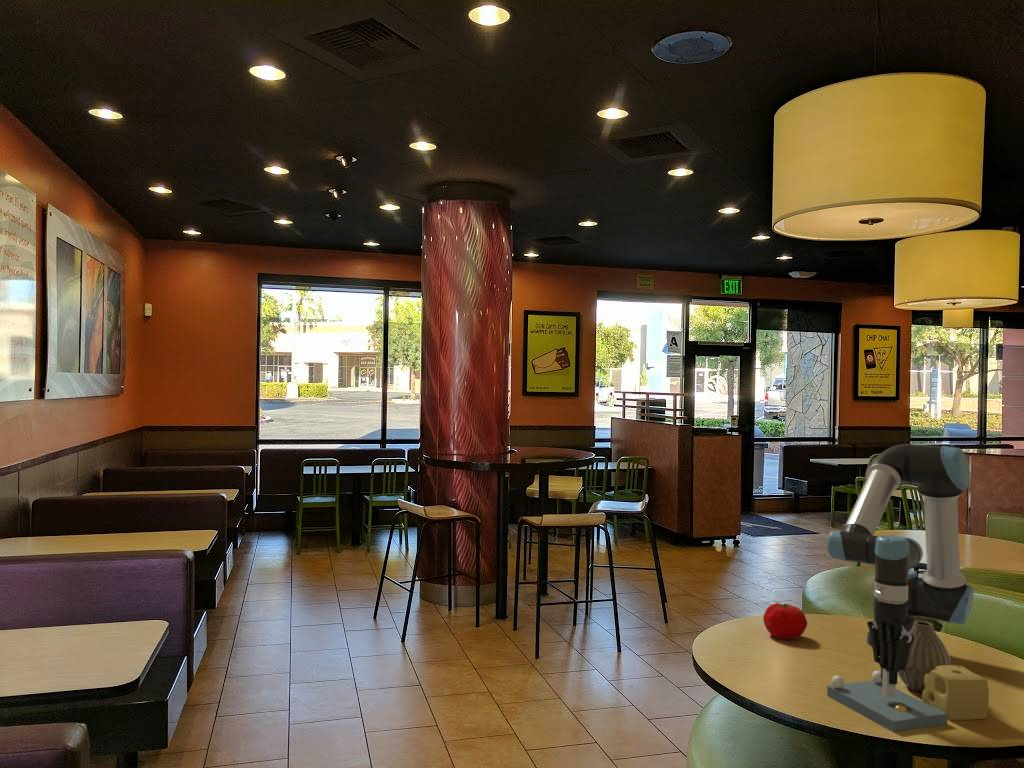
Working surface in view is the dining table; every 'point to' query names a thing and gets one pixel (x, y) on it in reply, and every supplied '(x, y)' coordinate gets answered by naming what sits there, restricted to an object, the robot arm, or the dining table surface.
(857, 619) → the dining table surface
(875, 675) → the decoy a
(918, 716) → the plate
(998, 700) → the dining table surface
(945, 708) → the cheese
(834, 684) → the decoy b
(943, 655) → the vase
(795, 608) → the tomato
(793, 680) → the dining table surface
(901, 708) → the ball
